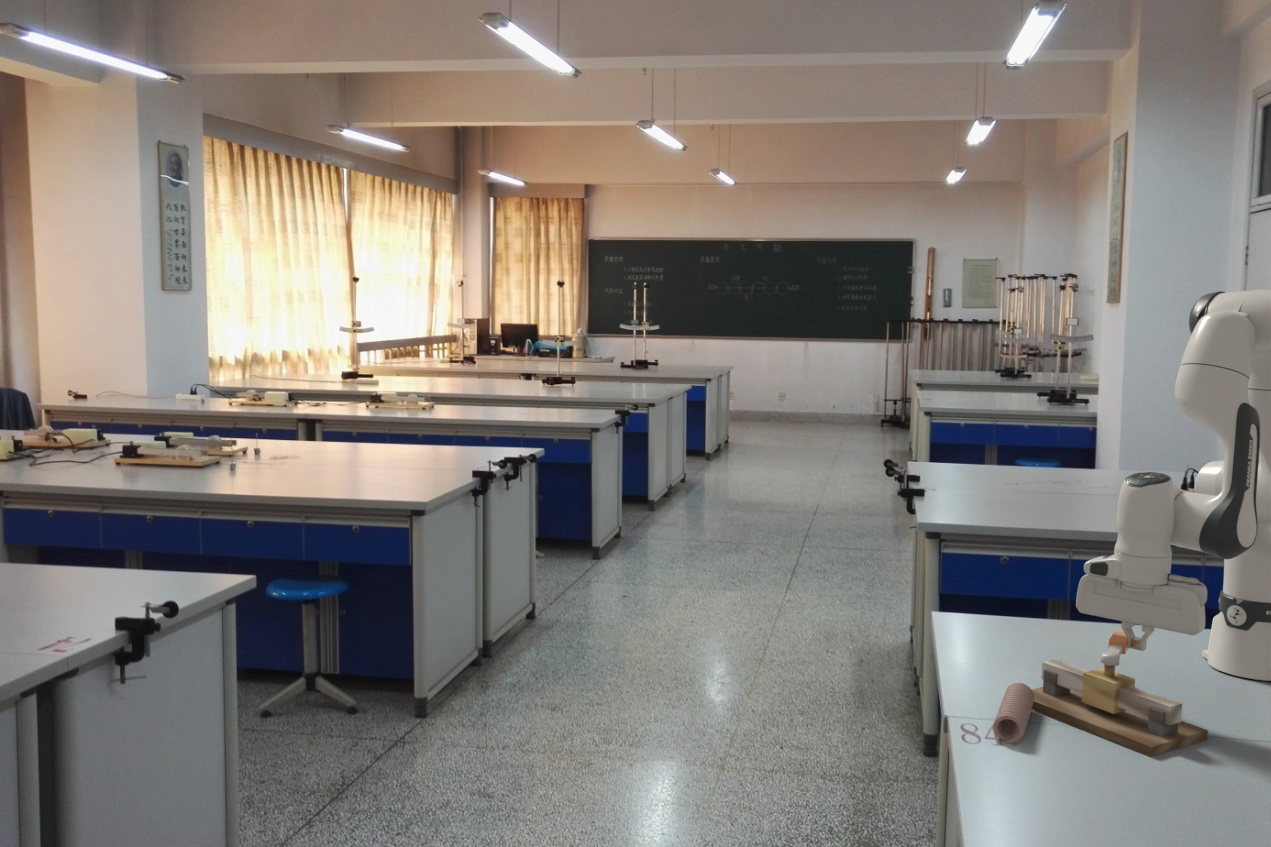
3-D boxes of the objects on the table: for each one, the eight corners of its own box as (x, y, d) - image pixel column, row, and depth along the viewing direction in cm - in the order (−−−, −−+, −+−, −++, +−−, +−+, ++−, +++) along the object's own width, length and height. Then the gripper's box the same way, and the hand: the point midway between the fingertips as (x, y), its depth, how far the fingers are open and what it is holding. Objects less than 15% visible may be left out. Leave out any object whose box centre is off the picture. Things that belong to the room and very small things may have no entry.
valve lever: (1112, 642, 193) (1113, 631, 192) (1130, 645, 191) (1131, 634, 191) (1099, 665, 180) (1099, 653, 180) (1117, 668, 179) (1118, 656, 178)
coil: (1026, 721, 169) (1037, 684, 186) (994, 712, 171) (1008, 677, 188) (1021, 749, 170) (1032, 711, 186) (990, 741, 172) (1003, 703, 188)
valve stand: (1068, 688, 196) (1071, 637, 195) (1207, 739, 174) (1211, 682, 173) (1013, 702, 189) (1016, 649, 188) (1150, 756, 167) (1154, 696, 166)
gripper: (1214, 577, 182) (1208, 658, 183) (1088, 556, 196) (1084, 632, 197) (1202, 583, 177) (1196, 667, 179) (1074, 562, 191) (1070, 639, 193)
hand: (1136, 648), depth 188 cm, fingers closed
